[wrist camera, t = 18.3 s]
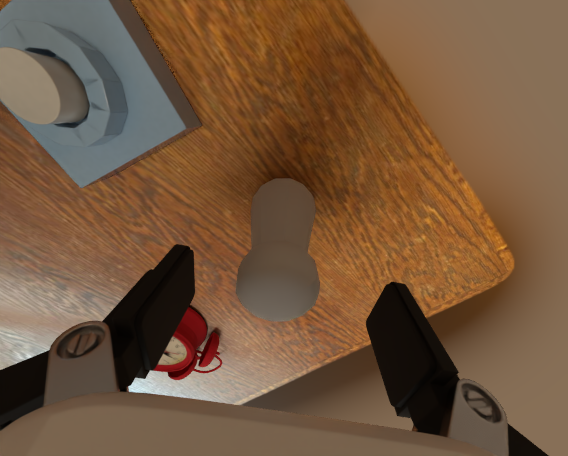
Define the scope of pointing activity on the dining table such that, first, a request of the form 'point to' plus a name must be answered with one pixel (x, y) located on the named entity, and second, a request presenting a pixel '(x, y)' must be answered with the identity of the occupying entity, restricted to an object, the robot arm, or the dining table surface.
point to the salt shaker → (279, 253)
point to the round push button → (41, 88)
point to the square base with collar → (101, 83)
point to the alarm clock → (189, 348)
